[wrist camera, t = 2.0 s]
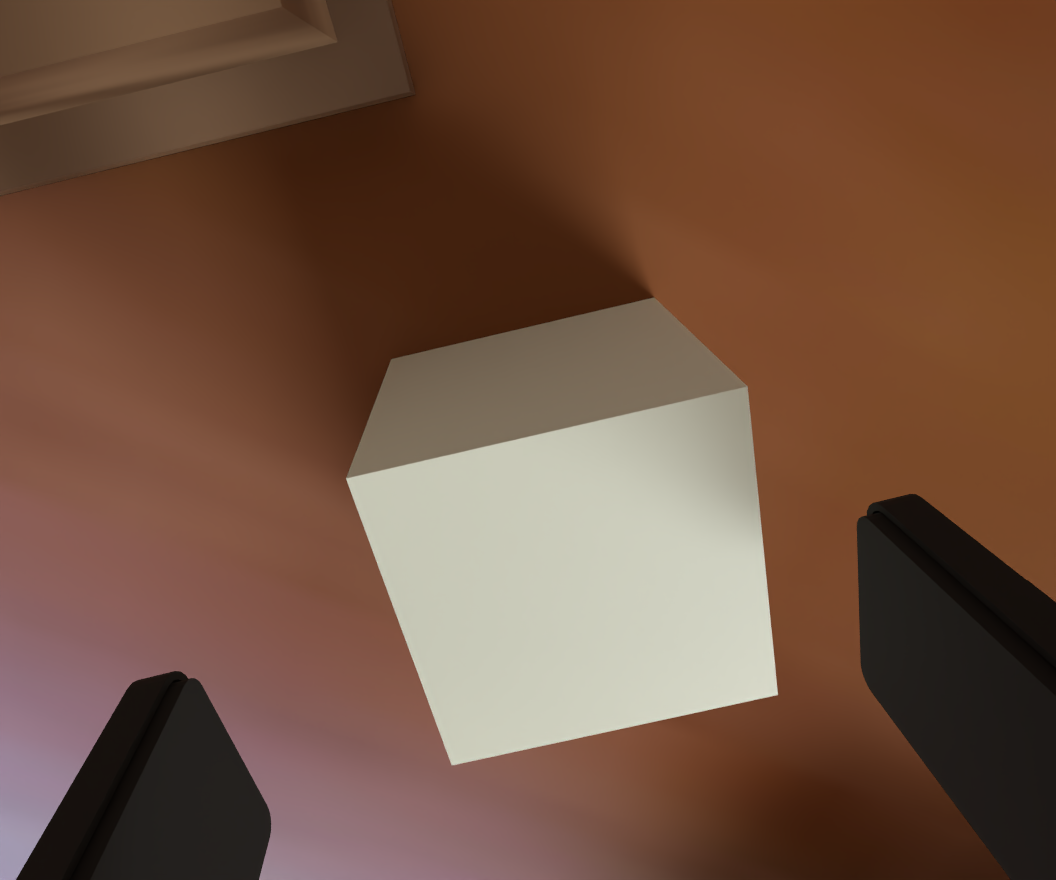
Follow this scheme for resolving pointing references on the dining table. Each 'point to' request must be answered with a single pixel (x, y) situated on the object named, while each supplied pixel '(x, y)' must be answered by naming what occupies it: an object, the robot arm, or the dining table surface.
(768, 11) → the dining table surface
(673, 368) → the cream block
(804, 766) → the dining table surface
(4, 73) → the walnut pedestal
